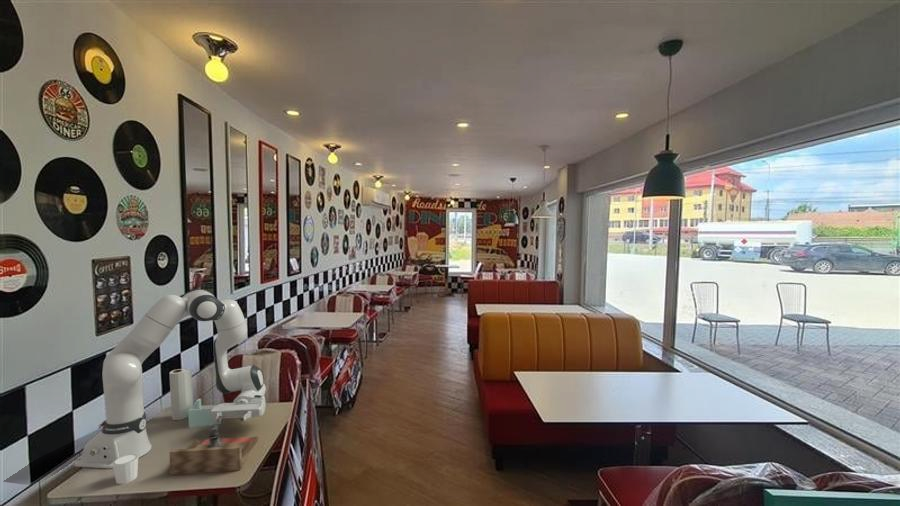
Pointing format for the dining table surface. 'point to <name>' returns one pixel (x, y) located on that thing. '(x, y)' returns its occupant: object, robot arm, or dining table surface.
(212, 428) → the stone chess piece
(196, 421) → the l-shaped corner panel
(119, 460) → the white tapered cup
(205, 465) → the tray
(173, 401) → the paper towel roll
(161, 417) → the dining table surface
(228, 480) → the dining table surface
